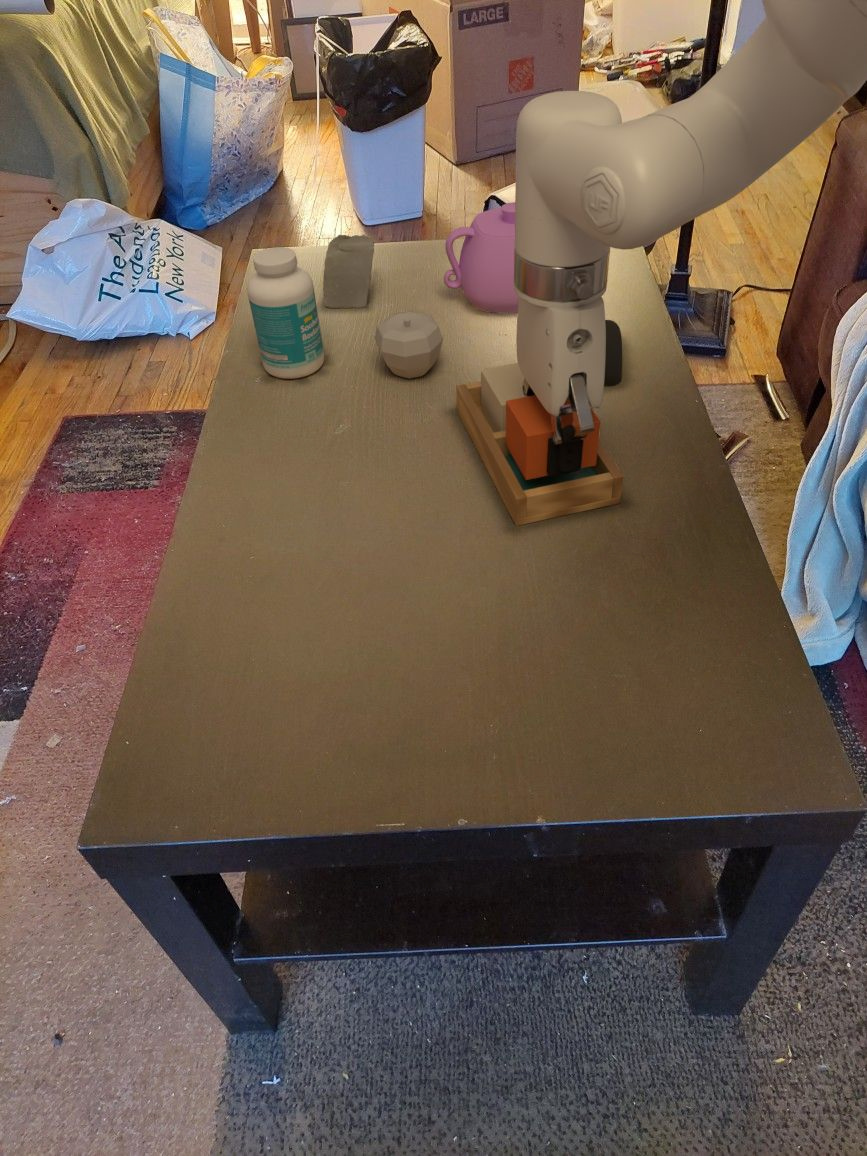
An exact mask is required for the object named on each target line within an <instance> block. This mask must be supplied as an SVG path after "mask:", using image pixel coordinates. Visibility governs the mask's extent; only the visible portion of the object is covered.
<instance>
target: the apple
mask: <svg viewBox="0 0 867 1156" xmlns="http://www.w3.org/2000/svg"><path fill="white" fill-rule="evenodd" d="M374 341H375V343H376V345H377V348H378V350H379V352H380V354H381V357H382V359H383V361H384V363H385V364H386V366H387V367H388V368H389V369H390V371H391V372H392V373H393V374H394V375H396V376H398V377H401V378H404V379H405V378H406V379H410V380H411V379H415V378H420V377H423V376H425V374H427V372H428V371H430V369H431V368H432V367H433V366H434V364H435V363H436V361H437V359H439V356H440V353H441V349H442V345H443V341H444V338H443V336H442V333H441V330H440V327H439V325H438V323H437V322H436V320H435V318H434V317H433V315H431V314H429V313H425V312H420V311H415V310H411V309H410V310H406V311H401V312H396V313H390V314H389V315H388V316H387V317H385V319H383V320H382V321H381V322H380V323H379V324H378V325H377V326H376V329H375V333H374Z"/></svg>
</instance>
